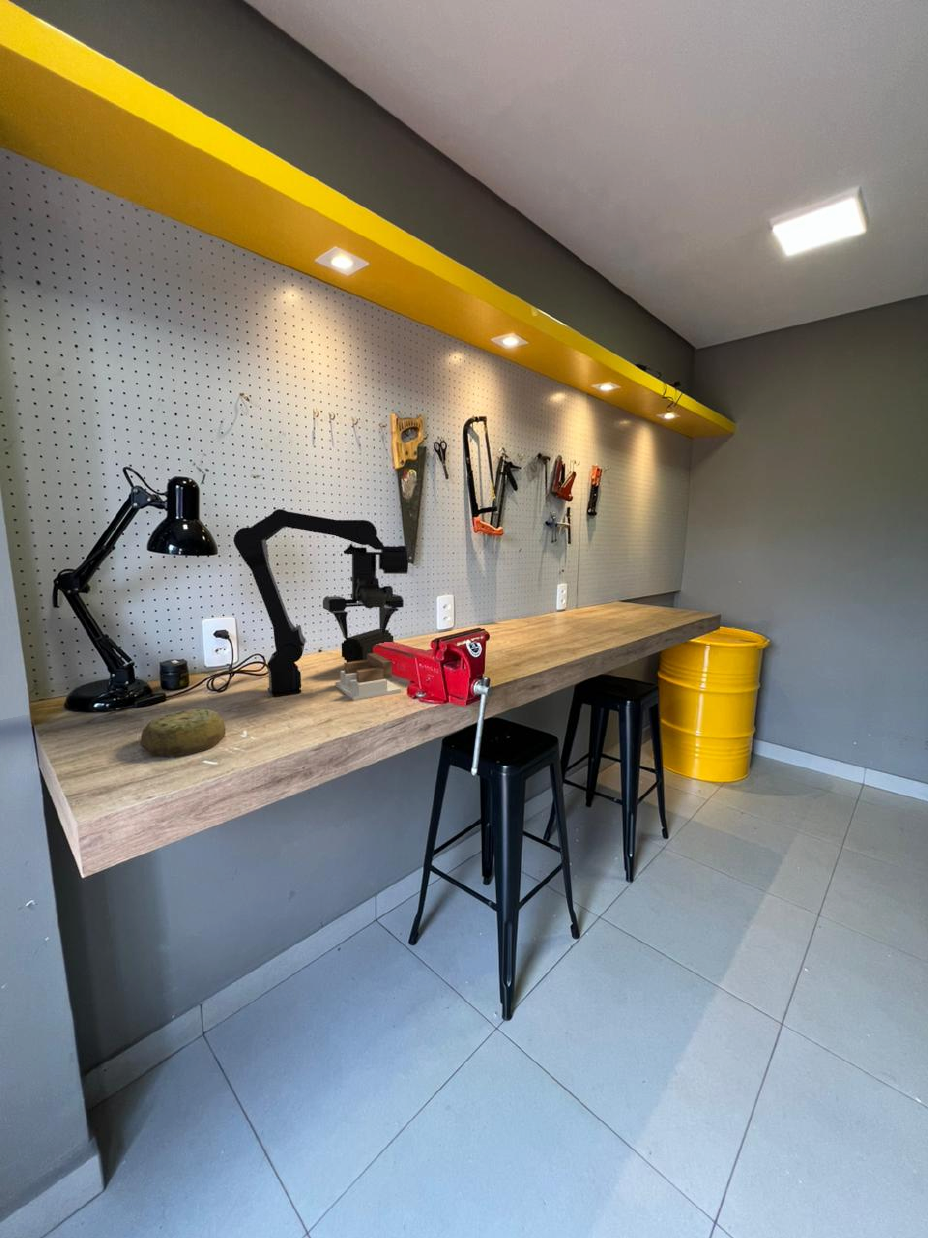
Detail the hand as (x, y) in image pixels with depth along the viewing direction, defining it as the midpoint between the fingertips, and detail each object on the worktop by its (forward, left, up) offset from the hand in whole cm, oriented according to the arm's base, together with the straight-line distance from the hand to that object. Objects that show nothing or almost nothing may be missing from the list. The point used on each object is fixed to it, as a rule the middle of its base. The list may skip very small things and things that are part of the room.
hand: (364, 637), depth 121 cm
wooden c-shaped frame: (0, -2, -13) cm, 13 cm away
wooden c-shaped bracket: (0, -2, -9) cm, 9 cm away
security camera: (+8, +16, -13) cm, 22 cm away
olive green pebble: (-40, -14, -13) cm, 44 cm away
